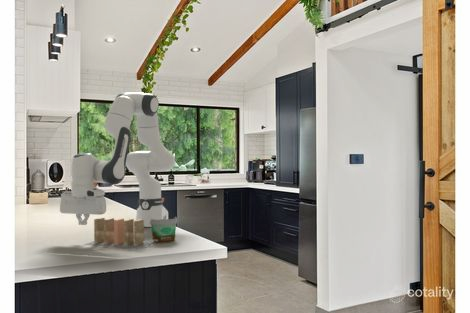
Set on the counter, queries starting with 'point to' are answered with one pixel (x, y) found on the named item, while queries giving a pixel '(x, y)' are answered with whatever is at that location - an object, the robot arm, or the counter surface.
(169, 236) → the food container
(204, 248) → the counter surface
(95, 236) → the maple domino
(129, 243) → the maple domino
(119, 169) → the robot arm
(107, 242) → the maple domino
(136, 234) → the maple domino
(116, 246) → the flat board
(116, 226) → the terracotta domino
